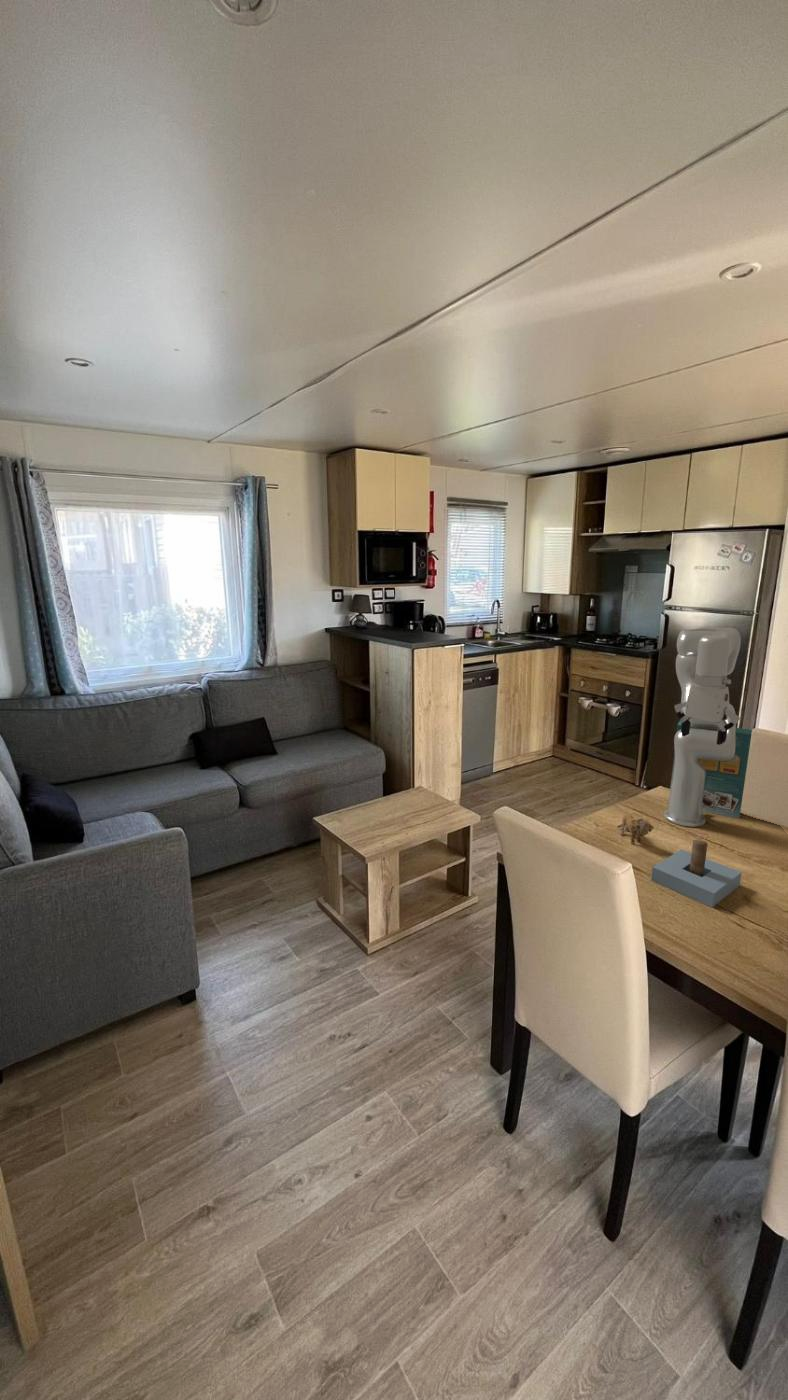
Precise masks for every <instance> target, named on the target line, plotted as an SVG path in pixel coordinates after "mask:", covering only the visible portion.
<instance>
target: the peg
mask: <svg viewBox="0 0 788 1400" xmlns="http://www.w3.org/2000/svg"><path fill="white" fill-rule="evenodd" d="M707 851H708V843H707V841H704V840H702V839H693V841H692V848H691V853H692V854H691V862H690V870H689V872H691V873H693V874H695V875H698V876H700V877H703V875H704V867H705V860H706V859H707Z"/></svg>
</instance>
